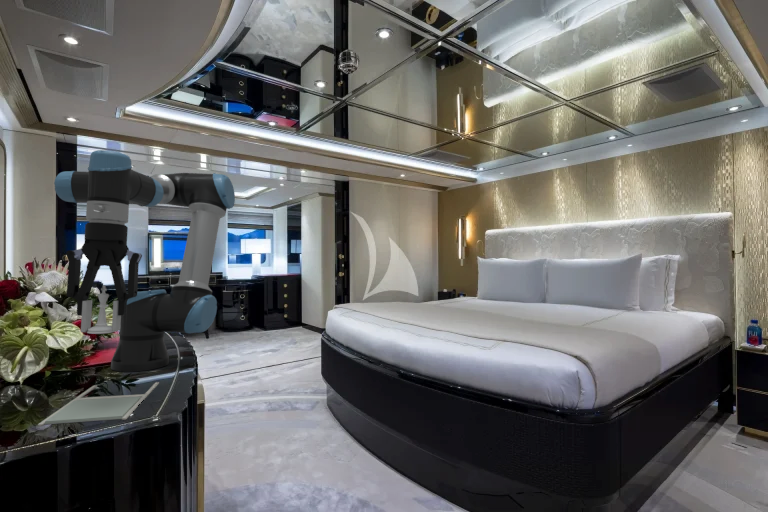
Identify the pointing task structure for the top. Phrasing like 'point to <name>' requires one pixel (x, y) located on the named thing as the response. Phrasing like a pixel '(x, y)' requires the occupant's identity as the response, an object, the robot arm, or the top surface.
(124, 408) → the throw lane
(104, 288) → the chess piece
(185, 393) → the top surface
